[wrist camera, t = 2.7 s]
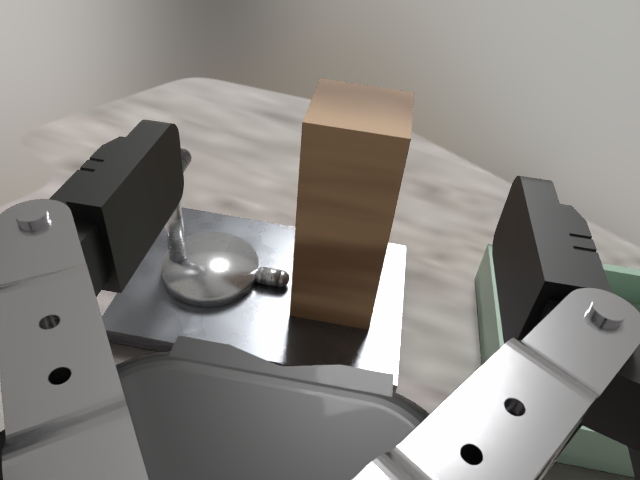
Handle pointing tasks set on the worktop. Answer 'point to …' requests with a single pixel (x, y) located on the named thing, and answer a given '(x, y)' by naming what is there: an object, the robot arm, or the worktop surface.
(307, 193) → the brown wooden block
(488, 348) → the tray
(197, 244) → the crank bed
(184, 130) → the worktop surface
